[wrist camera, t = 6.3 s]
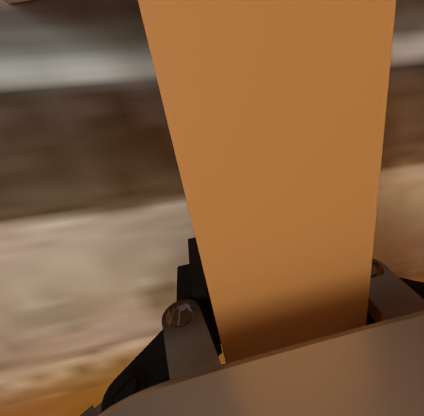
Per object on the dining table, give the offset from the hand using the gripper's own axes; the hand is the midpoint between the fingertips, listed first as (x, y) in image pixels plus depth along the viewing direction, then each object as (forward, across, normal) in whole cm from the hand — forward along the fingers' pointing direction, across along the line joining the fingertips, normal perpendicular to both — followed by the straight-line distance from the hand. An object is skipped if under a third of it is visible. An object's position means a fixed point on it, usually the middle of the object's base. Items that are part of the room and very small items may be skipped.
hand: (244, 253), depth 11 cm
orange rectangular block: (0, 0, -4) cm, 4 cm away
